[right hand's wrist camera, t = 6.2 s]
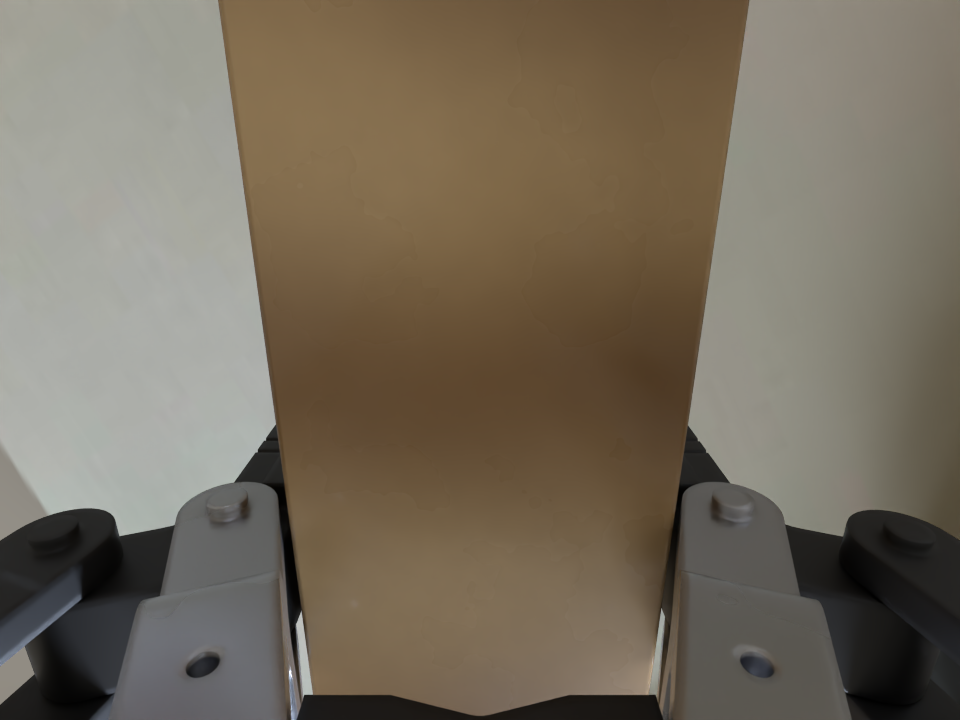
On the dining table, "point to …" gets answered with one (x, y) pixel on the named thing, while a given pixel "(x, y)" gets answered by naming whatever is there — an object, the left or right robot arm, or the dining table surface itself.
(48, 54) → the dining table surface
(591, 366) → the bar
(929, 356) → the dining table surface
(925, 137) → the dining table surface
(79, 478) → the dining table surface
